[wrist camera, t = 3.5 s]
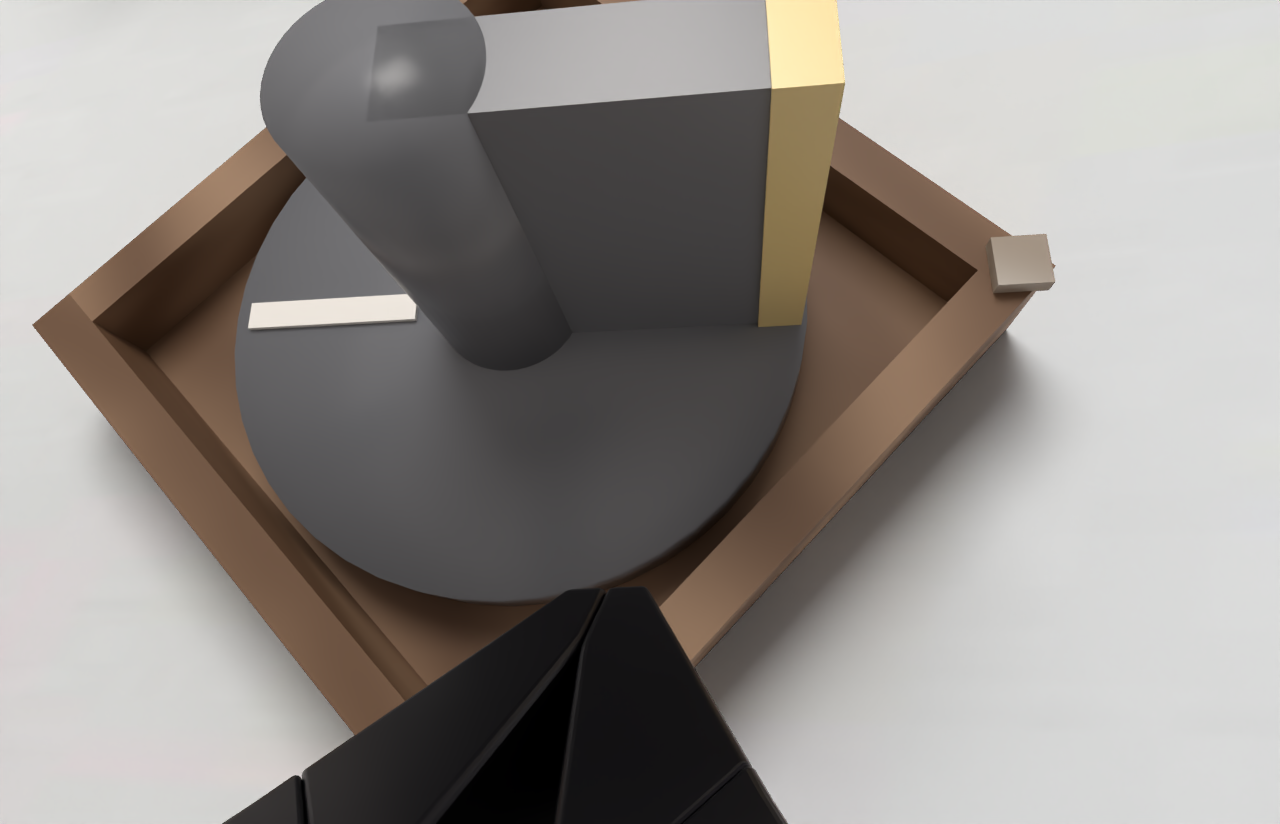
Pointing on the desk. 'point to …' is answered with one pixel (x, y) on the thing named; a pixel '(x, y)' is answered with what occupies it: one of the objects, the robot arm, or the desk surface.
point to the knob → (534, 280)
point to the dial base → (682, 587)
